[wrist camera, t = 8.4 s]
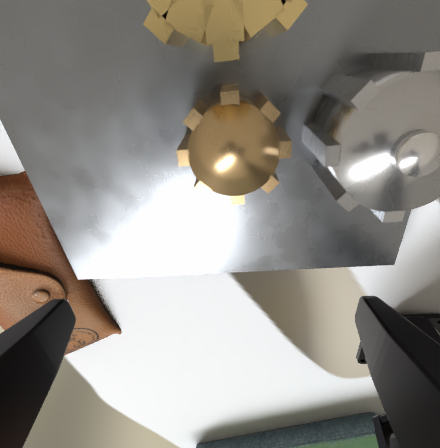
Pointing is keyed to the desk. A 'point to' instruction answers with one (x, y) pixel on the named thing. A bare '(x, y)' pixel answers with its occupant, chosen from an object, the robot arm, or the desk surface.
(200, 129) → the carrier
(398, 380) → the robot arm
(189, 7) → the brass gear
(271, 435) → the planter
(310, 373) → the desk surface
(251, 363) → the desk surface
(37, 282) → the sunglasses case
